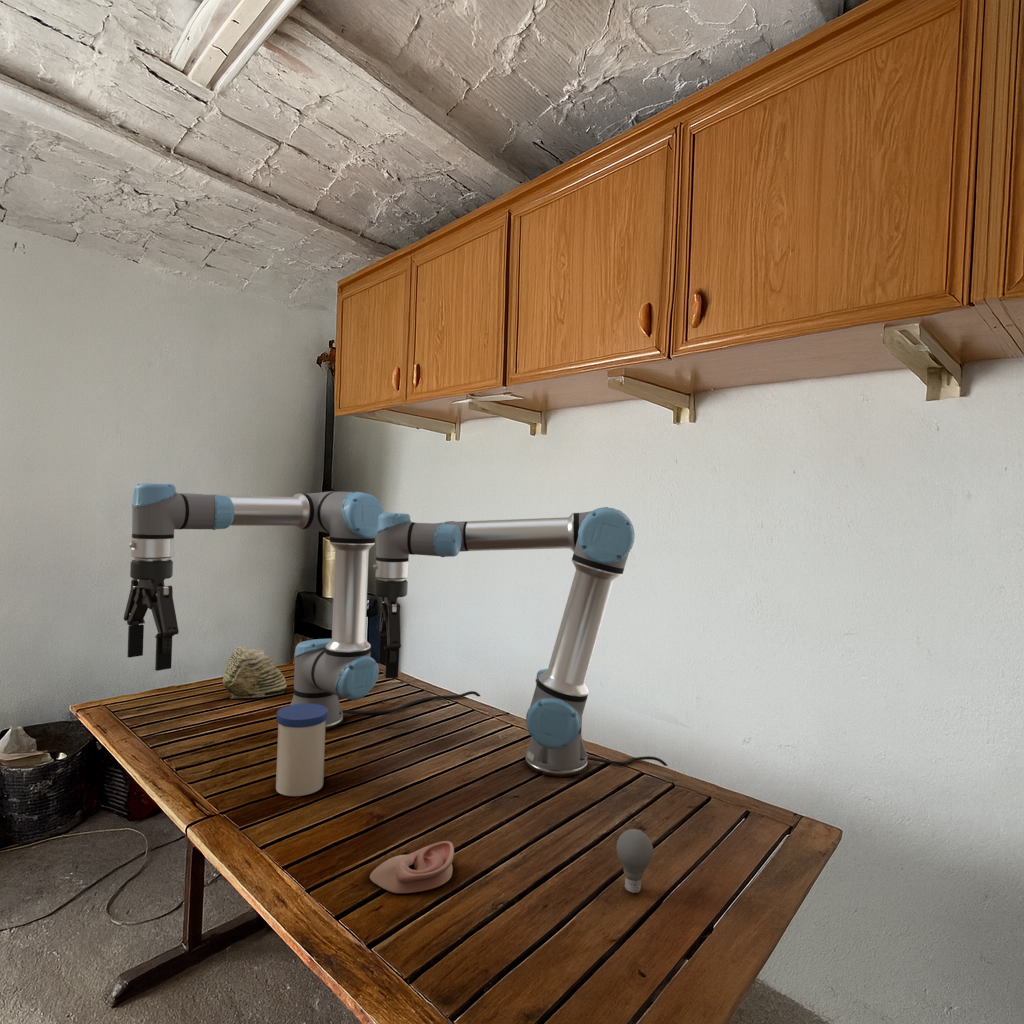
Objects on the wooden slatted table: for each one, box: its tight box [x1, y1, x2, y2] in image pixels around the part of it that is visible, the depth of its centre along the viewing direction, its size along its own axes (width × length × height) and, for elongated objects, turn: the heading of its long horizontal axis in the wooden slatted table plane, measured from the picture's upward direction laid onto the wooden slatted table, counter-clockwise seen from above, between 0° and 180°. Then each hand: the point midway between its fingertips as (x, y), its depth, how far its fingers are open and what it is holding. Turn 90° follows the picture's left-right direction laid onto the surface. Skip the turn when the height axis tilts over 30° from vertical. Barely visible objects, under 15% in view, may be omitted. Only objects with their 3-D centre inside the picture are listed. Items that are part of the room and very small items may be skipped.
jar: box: [275, 721, 327, 797], centre depth 138 cm, size 10×10×16 cm
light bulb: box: [615, 828, 654, 894], centre depth 106 cm, size 6×6×10 cm
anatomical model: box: [369, 840, 455, 894], centre depth 107 cm, size 13×4×12 cm
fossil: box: [222, 646, 288, 699], centre depth 198 cm, size 9×18×15 cm, turn 132°
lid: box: [276, 704, 328, 727], centre depth 138 cm, size 11×11×2 cm
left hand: (148, 662), depth 129 cm, fingers open, 13 cm apart
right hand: (388, 669), depth 148 cm, fingers open, 13 cm apart
